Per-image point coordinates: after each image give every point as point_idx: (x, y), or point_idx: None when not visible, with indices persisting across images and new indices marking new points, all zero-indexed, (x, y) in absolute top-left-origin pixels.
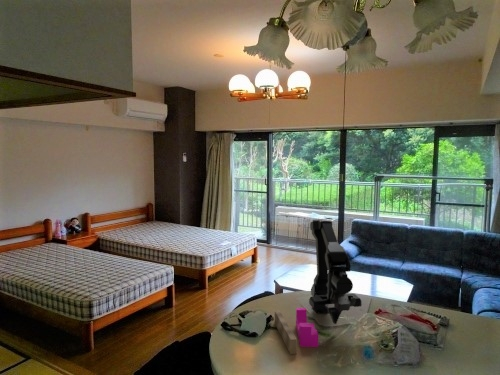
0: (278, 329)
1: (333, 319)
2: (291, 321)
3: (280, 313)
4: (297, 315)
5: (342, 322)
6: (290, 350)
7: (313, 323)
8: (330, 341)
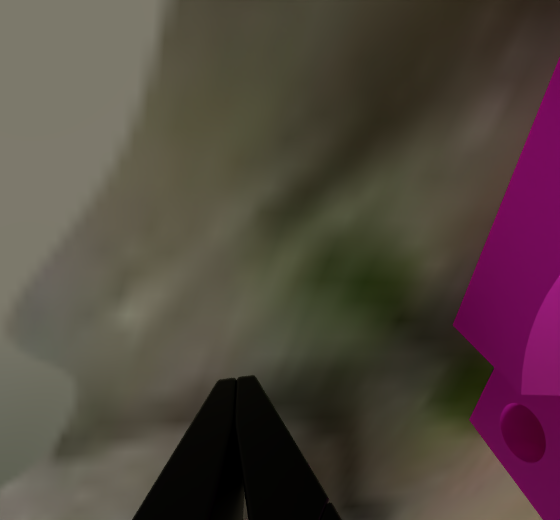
0: None
1: (288, 435)
2: None
3: None
4: None
5: (95, 476)
6: None
7: (527, 394)
8: (365, 107)
